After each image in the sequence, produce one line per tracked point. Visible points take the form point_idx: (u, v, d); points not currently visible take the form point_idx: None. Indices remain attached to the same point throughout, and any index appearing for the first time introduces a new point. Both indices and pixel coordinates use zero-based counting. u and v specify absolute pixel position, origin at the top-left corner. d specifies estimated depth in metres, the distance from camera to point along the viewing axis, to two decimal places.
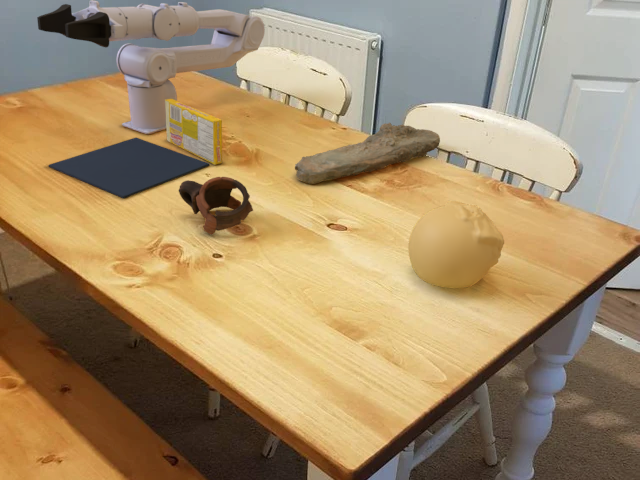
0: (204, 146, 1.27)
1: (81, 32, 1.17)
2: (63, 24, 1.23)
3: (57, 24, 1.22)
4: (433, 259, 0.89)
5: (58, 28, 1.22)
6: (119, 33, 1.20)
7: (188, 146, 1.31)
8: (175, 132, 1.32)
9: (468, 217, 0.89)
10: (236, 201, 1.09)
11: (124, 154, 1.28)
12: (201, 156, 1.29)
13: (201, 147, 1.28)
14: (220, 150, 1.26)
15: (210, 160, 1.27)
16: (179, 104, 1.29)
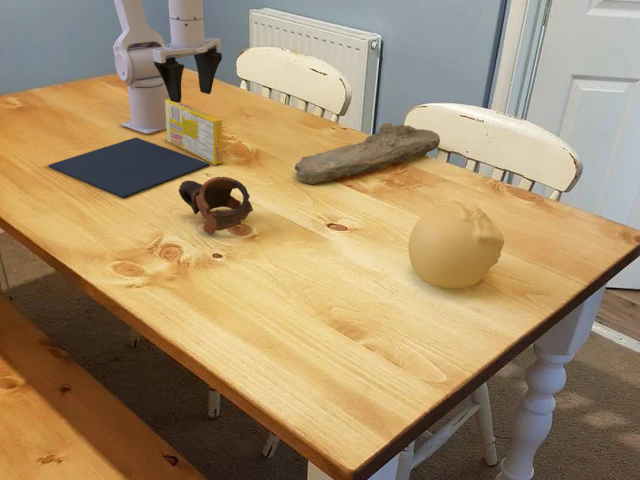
0: (204, 146, 1.27)
1: None
2: None
3: None
4: (433, 259, 0.89)
5: None
6: None
7: (188, 146, 1.31)
8: (175, 132, 1.32)
9: (468, 217, 0.89)
10: (236, 201, 1.09)
11: (124, 154, 1.28)
12: (201, 156, 1.29)
13: (201, 147, 1.28)
14: (220, 150, 1.26)
15: (210, 160, 1.27)
16: (179, 104, 1.29)
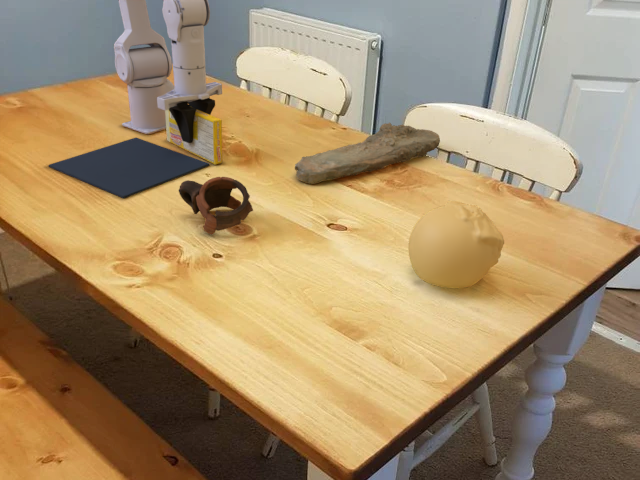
0: (204, 145, 1.27)
1: None
2: None
3: None
4: (433, 259, 0.89)
5: None
6: None
7: (188, 146, 1.31)
8: (175, 132, 1.32)
9: (468, 217, 0.89)
10: (236, 201, 1.09)
11: (124, 154, 1.28)
12: (201, 156, 1.29)
13: (201, 146, 1.28)
14: (220, 150, 1.26)
15: (211, 159, 1.27)
16: None
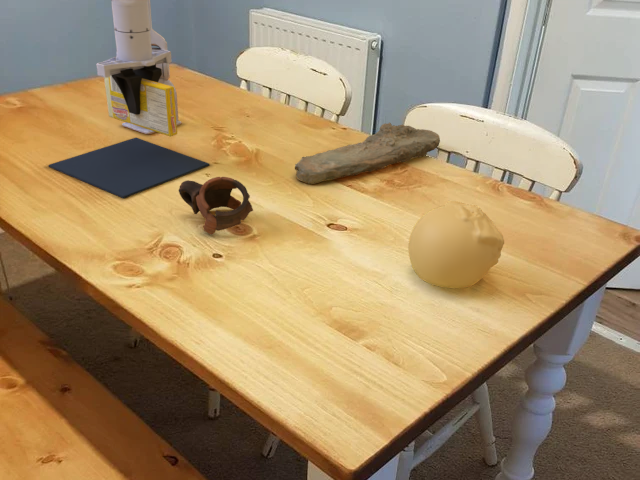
0: (156, 117, 1.17)
1: None
2: None
3: None
4: (433, 259, 0.89)
5: None
6: None
7: (136, 120, 1.21)
8: (119, 106, 1.22)
9: (468, 217, 0.89)
10: (236, 201, 1.09)
11: (124, 154, 1.28)
12: (153, 129, 1.19)
13: (152, 118, 1.18)
14: (174, 120, 1.17)
15: (165, 131, 1.18)
16: None
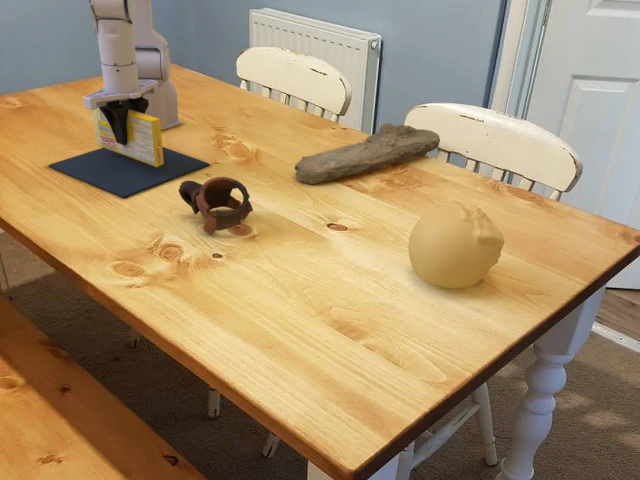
0: (142, 148, 1.19)
1: None
2: None
3: None
4: (433, 259, 0.89)
5: None
6: None
7: (123, 149, 1.22)
8: (107, 135, 1.23)
9: (468, 217, 0.89)
10: (236, 201, 1.09)
11: None
12: (140, 159, 1.20)
13: (139, 149, 1.19)
14: (161, 151, 1.18)
15: (151, 162, 1.19)
16: None
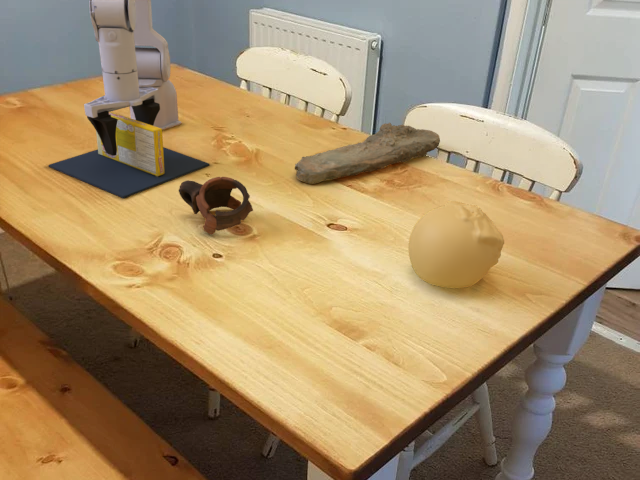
0: (144, 157, 1.20)
1: None
2: None
3: None
4: (433, 259, 0.89)
5: None
6: None
7: (125, 158, 1.23)
8: None
9: (468, 217, 0.89)
10: (236, 201, 1.09)
11: None
12: (141, 168, 1.21)
13: (140, 158, 1.20)
14: (162, 160, 1.19)
15: (152, 171, 1.20)
16: (111, 114, 1.21)
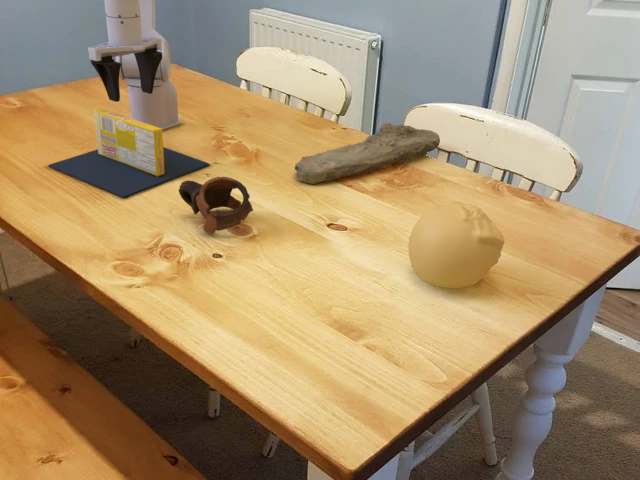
0: (144, 157, 1.20)
1: None
2: None
3: None
4: (433, 259, 0.89)
5: None
6: None
7: (125, 158, 1.23)
8: (108, 144, 1.24)
9: (468, 217, 0.89)
10: (236, 201, 1.09)
11: None
12: (141, 168, 1.21)
13: (140, 158, 1.20)
14: (162, 160, 1.19)
15: (152, 171, 1.20)
16: (111, 114, 1.21)
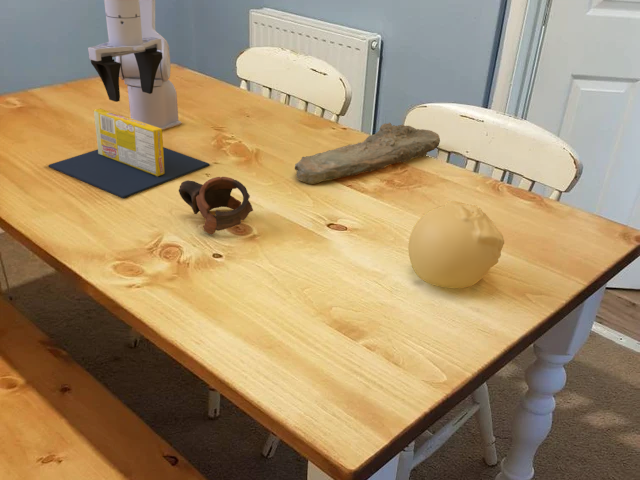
0: (144, 157, 1.20)
1: None
2: None
3: None
4: (433, 259, 0.89)
5: None
6: None
7: (125, 158, 1.23)
8: (108, 144, 1.24)
9: (468, 217, 0.89)
10: (236, 201, 1.09)
11: None
12: (141, 168, 1.21)
13: (140, 158, 1.20)
14: (162, 160, 1.19)
15: (152, 171, 1.20)
16: (111, 114, 1.21)
